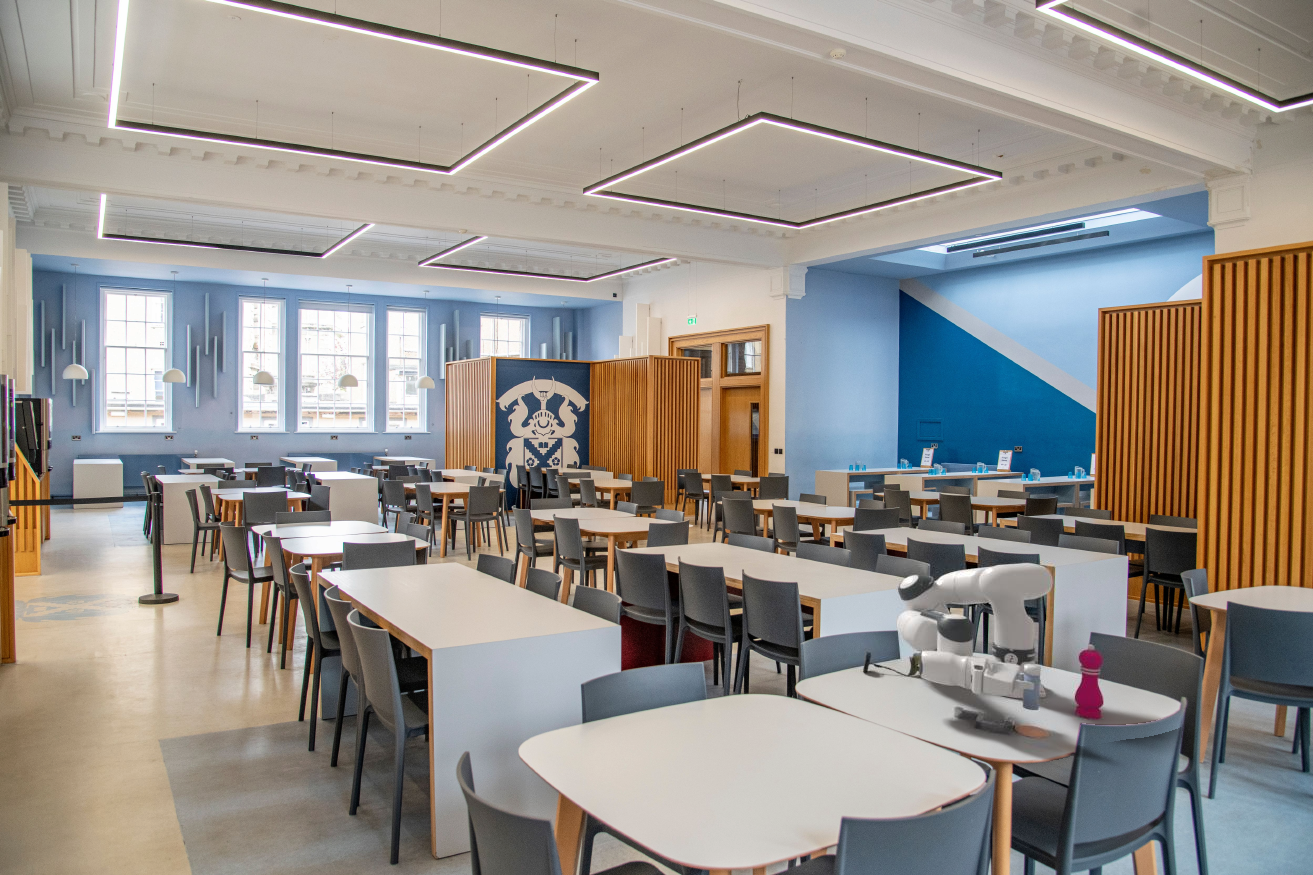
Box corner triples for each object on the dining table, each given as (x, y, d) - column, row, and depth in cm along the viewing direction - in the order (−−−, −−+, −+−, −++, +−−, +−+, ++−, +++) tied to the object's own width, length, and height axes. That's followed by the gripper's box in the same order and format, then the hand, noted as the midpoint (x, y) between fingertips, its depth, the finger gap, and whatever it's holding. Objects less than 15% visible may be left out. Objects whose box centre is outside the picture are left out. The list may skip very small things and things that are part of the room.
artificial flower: (861, 671, 271) (866, 641, 273) (932, 687, 264) (936, 656, 267) (862, 671, 262) (866, 640, 264) (935, 687, 256) (939, 655, 258)
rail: (954, 714, 228) (955, 705, 228) (1015, 726, 220) (1015, 717, 220) (949, 723, 221) (950, 714, 221) (1011, 735, 213) (1011, 726, 213)
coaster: (1016, 724, 222) (1017, 722, 221) (1049, 730, 218) (1049, 729, 218) (1013, 733, 215) (1013, 731, 215) (1047, 740, 211) (1047, 738, 211)
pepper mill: (1106, 720, 226) (1109, 648, 226) (1078, 718, 228) (1081, 646, 228) (1098, 711, 234) (1100, 642, 233) (1070, 709, 235) (1073, 640, 235)
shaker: (1023, 703, 219) (1024, 662, 219) (1039, 706, 217) (1041, 665, 217) (1021, 708, 215) (1023, 666, 215) (1038, 711, 213) (1040, 669, 213)
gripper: (984, 675, 232) (1038, 685, 225) (973, 695, 214) (1031, 706, 207) (985, 653, 231) (1039, 662, 225) (974, 671, 214) (1032, 681, 207)
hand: (1035, 683), depth 216 cm, fingers closed on shaker, 4 cm apart
